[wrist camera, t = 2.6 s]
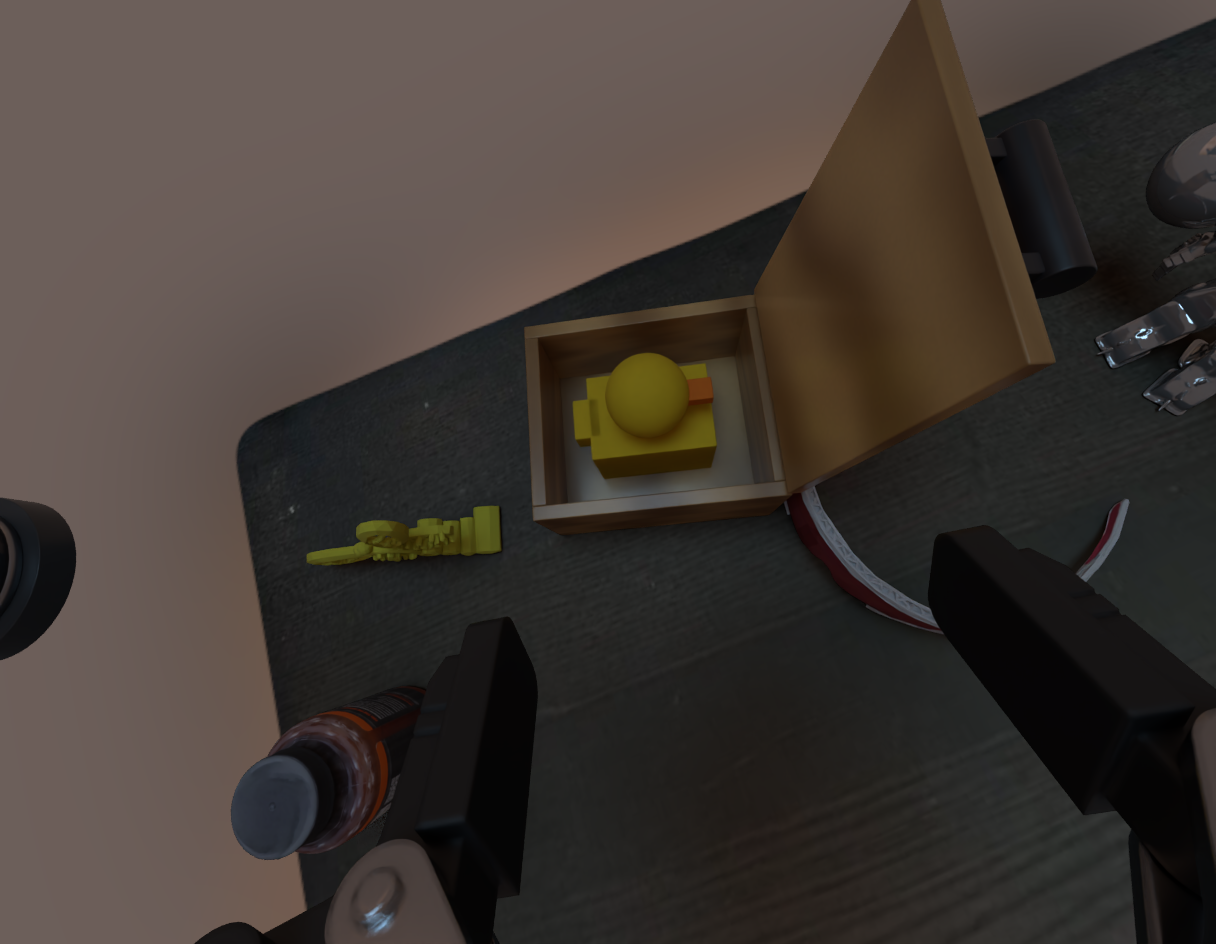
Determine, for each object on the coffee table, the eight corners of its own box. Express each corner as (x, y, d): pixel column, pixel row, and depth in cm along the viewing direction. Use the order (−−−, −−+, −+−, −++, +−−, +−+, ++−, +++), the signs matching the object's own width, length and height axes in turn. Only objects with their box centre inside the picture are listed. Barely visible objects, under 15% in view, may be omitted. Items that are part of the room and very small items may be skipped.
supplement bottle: (357, 697, 33) (202, 746, 22) (443, 673, 33) (328, 711, 22) (370, 798, 32) (211, 904, 21) (461, 774, 31) (346, 868, 21)
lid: (1029, 364, 12) (1210, 353, 12) (915, -10, 15) (1064, -12, 15) (787, 493, 26) (874, 487, 26) (753, 289, 29) (831, 286, 29)
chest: (560, 535, 34) (532, 521, 28) (551, 374, 37) (524, 327, 30) (769, 515, 33) (793, 495, 26) (743, 349, 35) (758, 293, 29)
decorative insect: (450, 568, 40) (302, 572, 33) (449, 526, 41) (305, 523, 34) (544, 543, 31) (365, 543, 24) (541, 490, 31) (367, 475, 25)
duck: (590, 480, 34) (558, 438, 25) (585, 409, 35) (552, 344, 26) (711, 467, 33) (724, 418, 24) (701, 395, 34) (710, 322, 25)
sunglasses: (716, 465, 34) (735, 433, 29) (897, 338, 37) (941, 291, 32) (911, 700, 29) (972, 709, 24) (1096, 529, 33) (1181, 508, 28)
